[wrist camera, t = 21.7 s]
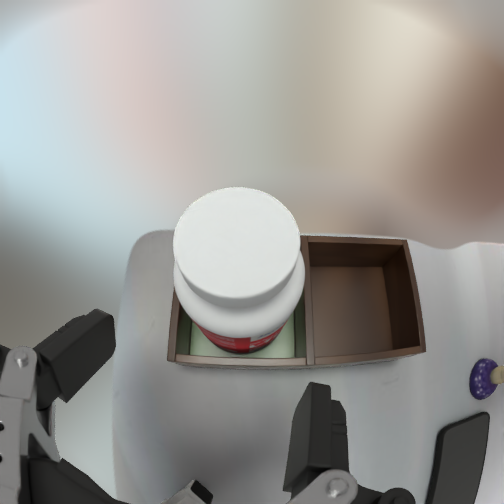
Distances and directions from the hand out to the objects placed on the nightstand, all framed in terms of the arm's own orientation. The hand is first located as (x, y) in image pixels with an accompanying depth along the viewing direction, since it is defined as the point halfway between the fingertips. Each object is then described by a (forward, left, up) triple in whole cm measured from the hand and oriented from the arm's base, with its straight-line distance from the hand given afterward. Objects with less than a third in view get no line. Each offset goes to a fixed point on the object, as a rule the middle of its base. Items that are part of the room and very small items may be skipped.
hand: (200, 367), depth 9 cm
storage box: (-5, -5, -10) cm, 12 cm away
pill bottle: (-1, -5, -9) cm, 10 cm away
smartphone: (-21, +14, -10) cm, 28 cm away
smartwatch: (+2, +10, -10) cm, 14 cm away
